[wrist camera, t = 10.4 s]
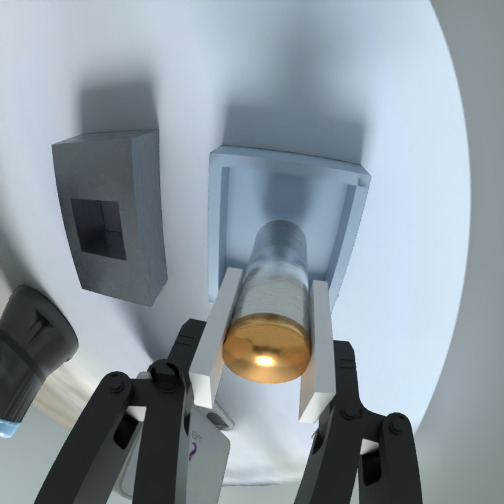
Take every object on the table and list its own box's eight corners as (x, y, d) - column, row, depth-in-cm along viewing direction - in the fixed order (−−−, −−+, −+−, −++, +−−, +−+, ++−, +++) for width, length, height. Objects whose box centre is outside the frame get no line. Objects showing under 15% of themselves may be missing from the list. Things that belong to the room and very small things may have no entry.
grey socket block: (167, 279, 26) (150, 306, 23) (102, 266, 27) (82, 288, 23) (158, 130, 19) (131, 138, 15) (82, 134, 19) (51, 144, 16)
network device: (244, 434, 44) (225, 525, 27) (203, 431, 47) (180, 515, 30) (182, 357, 33) (129, 500, 16) (132, 356, 35) (76, 473, 18)
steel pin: (252, 261, 21) (221, 376, 12) (257, 215, 19) (221, 323, 10) (302, 268, 20) (299, 387, 12) (311, 223, 18) (319, 337, 10)
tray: (326, 296, 24) (329, 319, 22) (217, 280, 25) (208, 301, 22) (360, 165, 18) (371, 176, 15) (221, 145, 19) (209, 153, 16)
